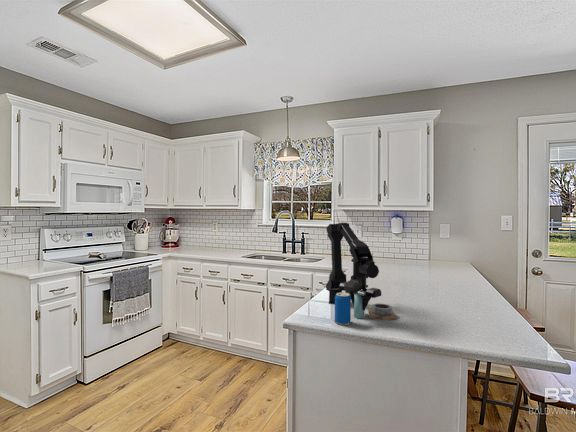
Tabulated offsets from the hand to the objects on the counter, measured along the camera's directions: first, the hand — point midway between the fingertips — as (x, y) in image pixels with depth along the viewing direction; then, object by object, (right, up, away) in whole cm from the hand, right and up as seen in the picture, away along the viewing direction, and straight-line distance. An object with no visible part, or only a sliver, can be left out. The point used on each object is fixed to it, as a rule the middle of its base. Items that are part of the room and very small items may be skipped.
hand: (359, 308), depth 142 cm
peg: (0, -4, 0) cm, 4 cm away
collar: (+11, -4, +3) cm, 12 cm away
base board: (+11, -4, +3) cm, 12 cm away
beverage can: (-9, -4, -7) cm, 12 cm away
